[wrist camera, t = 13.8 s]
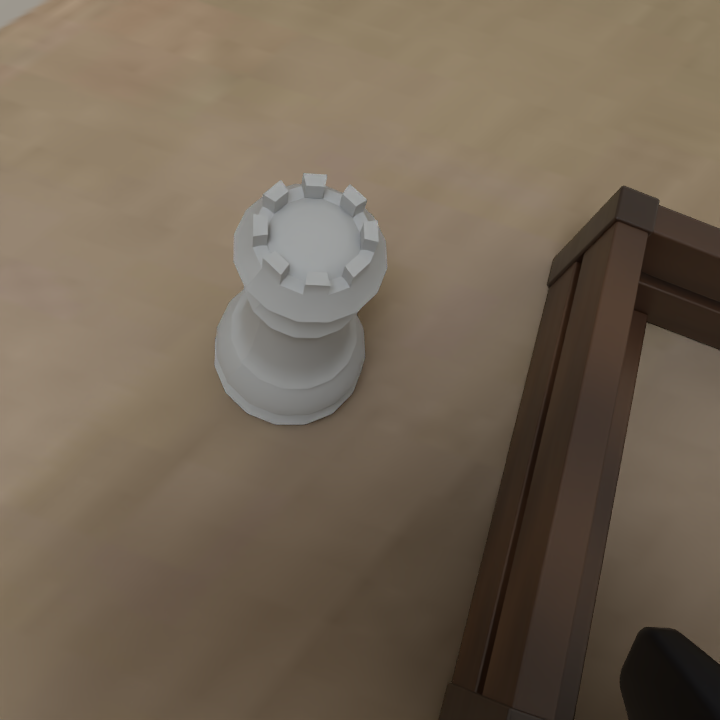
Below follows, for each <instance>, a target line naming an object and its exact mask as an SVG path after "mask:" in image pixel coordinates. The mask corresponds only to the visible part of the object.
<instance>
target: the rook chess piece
mask: <svg viewBox="0 0 720 720" xmlns="http://www.w3.org/2000/svg"><path fill="white" fill-rule="evenodd" d="M326 179H327V175H323V174H307V173H303V178H302V184H293V185H290V186H287V187H286V186H285V185H284V184H283V182H282V181H281V180H280V181H279V182H278V183H276V184H275V185H274V186H273V187H271V188H270V189H269V190H268V191H266V192H265V193H264V194H263V197H261V198H260V199H259V200H258V201H256V202H255V203H254V204H253V205H251V206H250V207H249V208H248V209H246V211H245V213H244V215H243V217H242V219H241V221H240V223H239V225H238V227H237V229H236V231H235V233H234V264H235V266H236V268H237V271H238V273H239V275H240V277H241V280H242V282H243V284H244V289H243V290H242V291H241V292H240V293H239V294H238V295H236V296H235V297H234V298H233V299H232V300H231V301H230V302H229V304H228V306H227V308H226V310H225V312H224V314H223V316H222V318H221V320H220V322H219V324H218V326H217V336H216V338H215V368H216V370H217V373H218V375H219V378H220V380H221V383H222V385H223V387H224V390H225V392H226V393H227V394H228V395H229V396H230V397H231V398H232V399H233V400H234V401H235V402H236V403H237V404H238V405H239V406H240V407H241V408H242V409H243V410H244V411H245V412H246V413H248V414H250V415H253V416H255V417H258V418H260V419H262V420H265V421H267V422H270V423H272V424H275V425H306V424H308V423H310V422H313V421H315V420H318V419H320V418H323V417H325V416H328V415H330V414H333V413H334V412H335V411H336V410H337V409H338V408H339V407H340V406H341V405H342V404H343V402H344V401H345V400H346V399H347V398H348V397H349V396H350V395H351V394H352V393H353V391H354V388H355V386H356V383H357V381H358V378H359V375H360V373H361V370H362V365H363V362H364V360H365V343H364V329H363V326H362V324H361V322H360V320H359V318H358V316H357V312H358V311H359V310H360V309H361V308H362V307H363V306H364V305H365V304H366V303H367V302H368V301H369V300H370V299H371V298H372V297H373V296H374V295H376V294H377V292H378V290H379V287H380V285H381V282H382V280H383V277H384V275H385V272H386V270H387V254H386V240H385V238H384V236H383V234H382V232H381V230H380V228H379V226H378V221H377V220H375V218H374V216H373V215H372V214H370V213H369V212H368V211H367V210H366V209H365V205H366V202H367V199H366V198H365V197H364V196H362V195H361V194H360V193H359V192H358V191H357V190H356V189H355V188H354V187H352V186H351V185H350V184H349V186H348V187H347V188H346V190H345V191H344V192H343V193H342V192H339V191H337V190H334V189H332V188H330V187H327V186H325V184H326Z"/></svg>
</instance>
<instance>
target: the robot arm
mask: <svg viewBox="0 0 720 720" xmlns="http://www.w3.org/2000/svg"><path fill="white" fill-rule="evenodd" d="M620 688H621V693H622V697H623V700H624V704H625V708H626V711H627V715H628V719H629V720H720V664H718V663H717V662H716V661H715V660H713V659H712V658H711V657H710V656H708V655H707V654H706V653H705V652H704V651H702V650H701V649H700V648H699V647H697V646H696V645H695V644H694V643H692V642H691V641H690V640H689V639H687V638H686V637H685V636H684V635H683V634H681V633H680V632H678V631H677V630H675V629H671V628H659V627H645V628H643V629H642V630H640V631H639V632H638V634H637V636H636V638H635V641H634V643H633V645H632V647H631V649H630V651H629V654H628V656H627V658H626V660H625V662H624V665H623V667H622V669H621V674H620Z"/></svg>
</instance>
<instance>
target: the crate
mask: <svg viewBox="0 0 720 720" xmlns="http://www.w3.org/2000/svg"><path fill="white" fill-rule="evenodd" d="M548 287H549V291H548V295H547V299H546V303H545V307H544V311H543V315H542V319H541V324H540V328H539V332H538V336H537V340H536V344H535V348H534V352H533V356H532V360H531V364H530V368H529V372H528V376H527V380H526V384H525V388H524V392H523V396H522V400H521V404H520V408H519V413H518V417H517V421H516V425H515V429H514V433H513V437H512V441H511V445H510V449H509V453H508V457H507V461H506V465H505V469H504V473H503V477H502V481H501V485H500V489H499V493H498V497H497V502H496V506H495V510H494V514H493V518H492V522H491V526H490V530H489V534H488V538H487V542H486V546H485V550H484V554H483V558H482V562H481V566H480V570H479V574H478V578H477V582H476V586H475V591H474V595H473V599H472V603H471V607H470V611H469V615H468V619H467V623H466V627H465V631H464V635H463V639H462V643H461V647H460V651H459V655H458V659H457V663H456V667H455V671H454V675H453V680H452V683H448V685H447V689H446V693H445V697H444V701H443V705H442V709H441V713H440V717H439V720H574V715H575V710H576V704H577V699H578V693H579V688H580V682H581V677H582V671H583V666H584V661H585V655H586V650H587V644H588V639H589V633H590V628H591V622H592V617H593V611H594V606H595V601H596V595H597V590H598V584H599V579H600V573H601V568H602V562H603V557H604V552H605V546H606V541H607V535H608V530H609V524H610V519H611V513H612V508H613V502H614V497H615V492H616V486H617V481H618V475H619V470H620V464H621V459H622V453H623V448H624V443H625V437H626V432H627V426H628V421H629V415H630V410H631V404H632V399H633V394H634V388H635V383H636V377H637V372H638V366H639V361H640V355H641V350H642V344H643V339H644V334H645V328H646V323H647V322H649V323H652V324H655V325H657V326H660V327H663V328H665V329H668V330H670V331H673V332H676V333H678V334H681V335H684V336H686V337H689V338H691V339H694V340H697V341H699V342H702V343H705V344H707V345H710V346H712V347H715V348H718V349H720V229H719V228H717V227H714V226H711V225H709V224H706V223H704V222H701V221H699V220H696V219H694V218H691V217H688V216H686V215H683V214H681V213H678V212H676V211H673V210H670V209H668V208H665V207H663V206H660V205H659V200H658V199H657V198H654V197H652V196H649V195H647V194H644V193H642V192H639V191H637V190H634V189H631V188H629V187H626V186H622V187H621V188H620V189H619V190H618V191H617V192H616V193H615V194H614V195H613V196H612V197H611V198H610V199H609V200H608V201H607V202H606V204H605V205H604V206H603V207H602V208H601V209H600V210H599V211H598V212H597V213H596V214H595V215H594V216H593V217H592V218H591V220H590V221H589V222H588V223H587V224H586V225H585V226H584V227H583V228H582V229H581V230H580V231H579V232H578V233H577V234H576V235H575V237H574V238H573V239H572V240H571V241H570V242H569V243H568V244H567V245H566V246H565V247H564V248H563V249H562V250H561V251H560V252H559V254H558V255H557V256H556V257H555V258H554V260H553V264H552V268H551V272H550V276H549V280H548Z"/></svg>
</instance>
